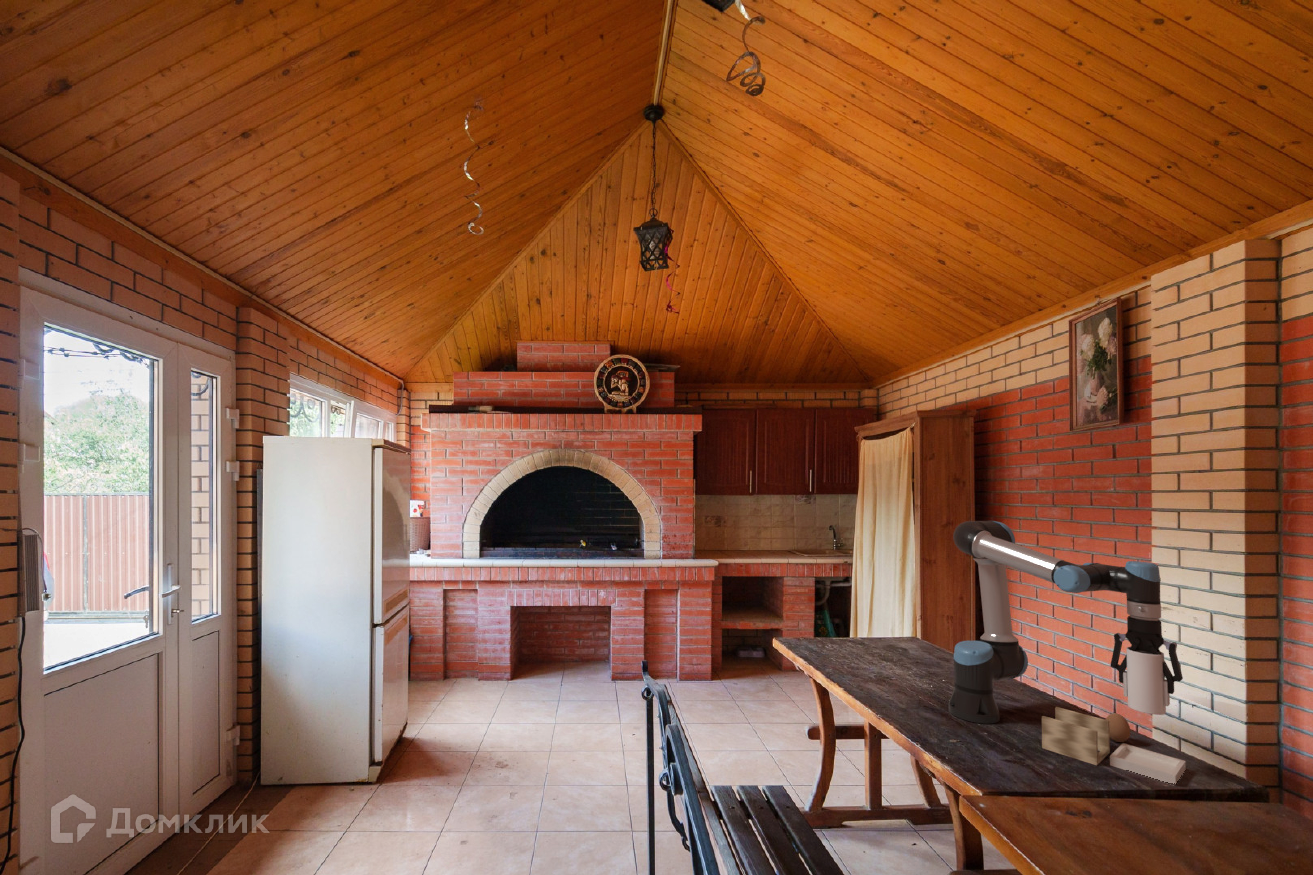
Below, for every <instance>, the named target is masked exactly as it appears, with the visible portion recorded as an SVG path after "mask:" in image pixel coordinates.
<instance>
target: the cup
mask: <svg viewBox="0 0 1313 875" xmlns="http://www.w3.org/2000/svg"><path fill="white" fill-rule="evenodd" d="M1130 647H1131V646H1127V647H1126V649H1125V650H1126V654H1127V668H1126V671H1127V689H1128V697H1127V707H1128V708H1130V709H1132V710H1134V711H1136V712H1140V713H1143V714H1149V715H1156V716H1157V715H1158V716H1163V715H1166V714H1167V706H1164V684H1163V681H1164V680H1165V679H1166V677H1165V675H1164V674H1163V666H1162V661H1163V662H1164V660H1165V653H1164V652H1162V651H1160V652H1161V655H1153V654H1152V653H1149V652H1146V651H1138V650H1137V651H1136V652H1135V651H1132V650H1129V649H1130Z"/></svg>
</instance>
